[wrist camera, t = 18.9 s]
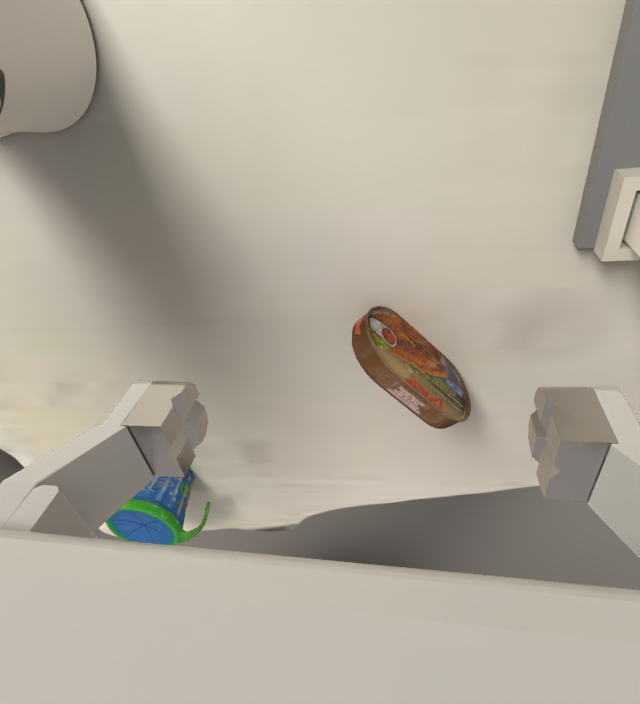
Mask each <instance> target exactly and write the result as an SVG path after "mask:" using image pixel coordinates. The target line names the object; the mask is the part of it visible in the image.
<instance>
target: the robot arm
mask: <svg viewBox="0 0 640 704" xmlns="http://www.w3.org/2000/svg"><path fill="white" fill-rule="evenodd" d="M95 82H96V53H95V46H94V41H93V36H92V32H91V29H90V25H89V22H88V19H87V16H86V13H85V11H84V8H83V6H82V3H81V1H80V0H0V137H4V136H7V135H9V134H12V133H15V132H42V133H48V132H56V131H60V130H63V129H66V128H68V127H70V126H71V125H73V124H74V123H75V122H77V121H78V120H79V119H80V118H81V117H82V115H83V114H84V113H85V111H86V110H87V108H88V106H89V104H90V102H91V99H92V96H93V93H94V88H95ZM198 395H199V393H198V390H197V388H196V386H195V384H193V383H190V382H164V381H155V382H153V381H138V382H136V383H133V384H132V386H131V387H130V388H129V390H128V391H127V392H126V394H125V395H124V396H123V398H122V399H121V400H120V402H119V403H118V404H117V406H116V407H115V408H114V410H113V411H112V412H111V414H110V415H109V416H108V418H107V419H106V420H105V422H104V423H103V424H102V425H96V426H94V427H93V428H91V429H89V430H88V431H86V432H84V433H83V434H81V435H79V436H78V437H76V438H74V439H73V440H71V441H69V442H68V443H66V444H64V445H63V446H61V447H59V448H57V449H56V450H54V451H52V452H51V453H49V454H47V455H46V456H44V457H42V458H41V459H39V460H37V461H36V462H34V463H32V464H31V465H29V466H27V467H26V468H24V469H22V470H21V471H19V472H17V473H16V474H14V475H12V476H11V477H9V478H7V479H6V480H4V481H3V482H2V483H1V485H0V704H640V590H635V589H624V588H613V587H603V586H593V585H581V584H571V583H561V582H551V581H539V580H529V579H519V578H509V577H499V576H487V575H477V574H466V573H456V572H445V571H435V570H424V569H414V568H403V567H393V566H382V565H371V564H361V563H350V562H340V561H329V560H318V559H307V558H298V557H288V556H277V555H267V554H256V553H245V552H235V551H225V550H215V549H204V548H193V547H183V546H173V545H162V544H152V543H141V542H131V541H120V540H110V539H99V538H97V537H96V535H95V534H94V533H93V532H94V531H95V530H97V529H98V528H99V527H100V526H101V525H102V524H103V523H104V522H105V521H107V520H108V519H109V518H110V517H111V516H112V515H113V514H114V513H116V512H117V511H118V510H119V509H120V508H121V507H122V506H123V505H125V504H126V503H127V502H128V501H129V500H130V499H131V498H132V497H134V496H135V495H136V494H137V493H138V492H139V491H140V490H141V489H142V488H144V487H145V486H146V485H147V484H148V483H149V482H150V481H151V480H153V479H154V476H166V477H185V476H186V474H187V472H188V470H189V468H190V466H191V464H192V462H193V460H194V458H195V453H194V450H193V449H194V448H195V447H196V446H198V445H199V444H200V443H202V441H203V439H204V437H205V435H206V431H207V424H208V420H207V413H206V411H205V408H204V406H203V405H201V404H200V403H199V402H198V401H196V399H197V397H198ZM534 403H535V406H536V409H537V410H536V411H535V412H534V413H532V414H531V415H530V421H529V432H528V438H529V445H530V450H531V454H532V457H534V458H535V459H536V460H537V461H538V462H539V465H538V469H537V476H538V480H539V483H540V487H541V490H542V494H543V498H544V499H552V500H564V501H575V502H587V503H588V505H589V506H590V507H591V508H592V509H593V511H594V512H595V513H597V515H598V516H599V517H600V518H601V519H602V520H603V521H604V522H605V523H606V524H607V525H608V526H609V527H610V528H611V529H612V530H613V531H614V532H615V533H616V535H618V537H619V538H620V539H621V540H622V541H623V542H624V543H625V544H626V545H627V546H628V547H629V548H630V549H631V550H632V551H633V552H634V553H635V554H636V555H637V556H638V557H639V558H640V424H639V423H638V421H637V419H636V417H635V415H634V414H633V412H632V410H631V408H630V406H629V405H628V403H627V401H626V399H625V398H624V396H623V394H622V392H621V390H620V389H618V388H617V387H589V388H588V387H538V389H537V391H536V393H535V397H534Z"/></svg>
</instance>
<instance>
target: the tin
mask: <svg viewBox="0 0 640 704" xmlns="http://www.w3.org/2000/svg"><path fill="white" fill-rule="evenodd" d="M352 346H353V350H354V353H355V355H356V358H357V360H358V362H359V363H360V365H361V367H362V368H363V369H364V371H365V372H366V373H367V374H368V376H369V377H370V378H371V379H372V380H373V381H374V382H375V383H377V384H378V385H379V386H380V387H382V388H383V389H384V390H385V391H387V392H388V393H389V394H390V395H391V396H393V397H394V398H395V399H397V400H398V401H399V402H400V403H402V404H403V405H404V406H405V407H407V408H408V409H409V410H410V411H412V412H413V413H414V414H415V415H417V416H418V417H419V418H420V419H422V420H423V421H424V422H425V423H427V424H428V425H430V426H432V427H435V428H439V429H442V428H447V427H449V426H452V425H454V424H456V423H458V422H462V421H465V420H466V419H467V418H468V417H469V415H470V411H471V404H470V398H469V395H468V392H467V389H466V387H465V384H464V382H463V380H462V378H461V376H460V374H459V373H458V371H457V370H456V368H455V367H454V366H453V364H452V363H451V362H450V361H449V360H448V359H447V358H446V357H445V356H444V355H443V354H442V353H441V352H440V351H438V350H437V349H436V348H435V347H434V346H433V345H432V344H431V343H429V342H428V341H427V340H426V339H425V338H424V337H423V336H422V335H420V334H419V333H418V332H417V331H416V330H415V329H414V328H413V327H412V326H410V325H409V324H408V323H407V322H406V321H405V320H404V319H403V318H402V317H400V316H399V315H398V314H397V313H395V312H394V311H392V310H390V309H388V308H386V307H381V306H377V307H373V308H372V309H370V310H369V312H368V313H367V314H366V315H364V316H363V317H362V318H360V319H359V320H358V321H357V322H356V323H355V325H354V327H353V331H352Z"/></svg>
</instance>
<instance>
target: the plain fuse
mask: <svg viewBox="0 0 640 704" xmlns="http://www.w3.org/2000/svg"><path fill="white" fill-rule="evenodd" d="M623 239H624V240H625V241H626V243H627V244H628V245H629V246H630V247H631V248H632V249H633V250H634V251H635V252H636V253H637V254H638V256H639V257H640V190H638V191H636V194H635V197H634V200H633V204H632V207H631V211H630V214H629V218H628V221H627V224H626V228H625V231H624V235H623Z"/></svg>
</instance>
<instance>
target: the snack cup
mask: <svg viewBox="0 0 640 704" xmlns="http://www.w3.org/2000/svg"><path fill="white" fill-rule="evenodd" d="M192 485H193V477H192V474H191V472H190V470H188V472H187V474H186V476H185V477H166V476H154V479H153V480H151V481H150V482H149V483H148V484H147V485H146V486H145V487H144V488H142V489H141V490H140V491H139V492H138V493H137V494H136V495H135V496H134V497H132V498H131V499H130V500H129V501H128V502H127V503H126V504H125V505H123V506H122V507H121V508H120V509H119V510H118V511H117V512H116V513H114V514H113V515H112V516H111V517H110V518H109V519H108V520H107V521H106V524H107V526H108V528H109V529H110V530H111V531H112V532H113V533H114V534H115V535H117V536H118V537H119V538H121V539H122V540H124V541H131V542H141V543H152V544H162V545H173V546H175V545H176V544H177V543H180V542H184V541H188V540H189V539H191V538H193V537H194V536H196V535H197V534H198V533H199V532H200V531H201V529H202V528H203V526H204V525H205V522H206V520H207V516H208V513H209V508H210V502H208V503H207V506H206V510H205V515H204V518H203V521H202V523H201V524H200V525H199V526H198V527H197V528H195V529H193V530H191V531H190V532H185V531H184V530H183V523H184V517H185V510H186V507H187V504H188V500H189V496H190V492H191V489H192Z"/></svg>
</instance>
